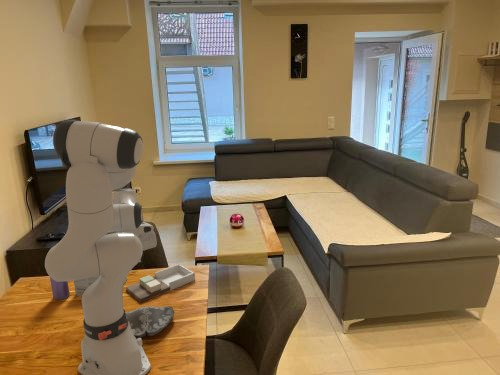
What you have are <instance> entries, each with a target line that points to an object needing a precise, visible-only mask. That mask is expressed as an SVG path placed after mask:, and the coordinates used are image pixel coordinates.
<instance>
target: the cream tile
mask: <svg viewBox="0 0 500 375" xmlns="http://www.w3.org/2000/svg"><path fill="white" fill-rule="evenodd" d="M146 289H147V290H148V291H150V292H151V293H152V292H155V291H157V290H160V289H161V283H160V282H158V281H157V280H153V281H150V282H148V283H146Z"/></svg>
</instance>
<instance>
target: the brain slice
mask: <svg viewBox="0 0 500 375" xmlns="http://www.w3.org/2000/svg"><path fill="white" fill-rule="evenodd" d="M125 312H126V315H127V320H128V322H129V324H130V327H131V329H135V332H136V333H135V334H134V336H135V337H136V338H143V337H146V336H149V337H153V336H155V335H157V334H159V333H161V332H162V331H163V330H165V329H166V328H167V326H168V325H169V324H170V323H171V321H172V320H173V318H174V315H175V310H174V308H173V307H172V306H168V305H167V306H153V305H151V306H150V305H148V306H140V307H138V308H135V309H134V310H131V311H125Z"/></svg>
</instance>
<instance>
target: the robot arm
mask: <svg viewBox="0 0 500 375" xmlns="http://www.w3.org/2000/svg"><path fill="white" fill-rule="evenodd" d="M52 144H53V145H52V146H53V149H54V152H55V153H56V155H57V157H58V158H59V159H60V160H61V162H62V164H63V165H64V166H65V167H67V168H68V170H67V172H66V178H65V198H66V200H65V201H66V207H67V218H68V225H67V230H66V233H65V235H64V236H63V237H62V238H61V240H60V241H59V242H57V243H56V244H55V245H53V246H52V247H51V248H50V249H49V251H48V252H47V254H46V256H45V260H44V268H45V270H46V273H47V274H48V277H49V278H50V277H51V278H52V279H53V280H55V281H56V282H62V281H68V282H74V281H76V280H80V279H85V278H89V277H93V276H97V275H100V277H99V278H98V280H97V281H95V282H94V283H93V284H91V285H90V286H89V287H88V288H87V289H86V290H85V292H84V293H83V295H82V297H81V306H82V311H83V312H82V313H83V325H82V326H83V327H82V328H83V330H84V336H83V339H82V340H81V343H80V348H81V349H80V350H81V357H82V358H81V359H82V362H81V363H80V364H79V365H78V367H77V371H78V373H79V374H81V375H146V374H147V373H149V372H150V370H151V368H152V365H151V362H150V361H149V360H150V359H149V358H148V356H147V355H146V352H145V351H144V348H143V346H142V345H143V339H142V337H135V336H134V334H135V333H136V332H135V329H131V327H130V324H129V322H128V320H127V315H126V312H127V311H126V310H125V308H124V301H123V300H124V296H123V290H124V289H123V288H124V285H125V283H124V281H125V279H126V277H127V278H128V275H129V273H130V272H131V271H132V269H133V268H134V267H135V266H136V265H138V264H139V263H141V262H142V261H141V260H142V256H143V253H144V252H145V251H146V250H150V249H153V248H156V247H157V244H158V238H157V236H156V232H155V231H154V229H155V228H154V226H153V225H152V224H150V223H148V222H145V221H144V215H143V206H142V205H141V204H140V203H139V201H138V196H137V193H136V192H137V191H136V189H134V188H131V187H130V188H123V187H125V186H127V185H128V184H130V183H131V182H132V181H133V180H134V178H135V176H136V173H137V166H138V164H140V161H141V159H142V157H143V154H144V153H143V152H144V142H143V138H142V136H141V135H140V134H139V132H138V131H135V130H133V129H130V128H127V127H126V128H123V127H120V126H118V125H117V126H116V125H112V124H106V123H103V122H97V121H89V120H88V121H85V120H83V121H82V120H78V119H67V120H62V121H60V123H59V124H58V125H57V126H56V127H55V129H54V132H53V138H52ZM143 251H144V252H143Z"/></svg>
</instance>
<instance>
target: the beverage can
mask: <svg viewBox="0 0 500 375" xmlns="http://www.w3.org/2000/svg"><path fill="white" fill-rule="evenodd" d="M49 281H50V286H51V291H52V292H51V293H52V297H53V299H54V300H56V301H62V300H65V299H67V298H69V297H70V287H69V281H62V282H56V281H55V280H53V279H52V278H51V277H50V276H49Z"/></svg>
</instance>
